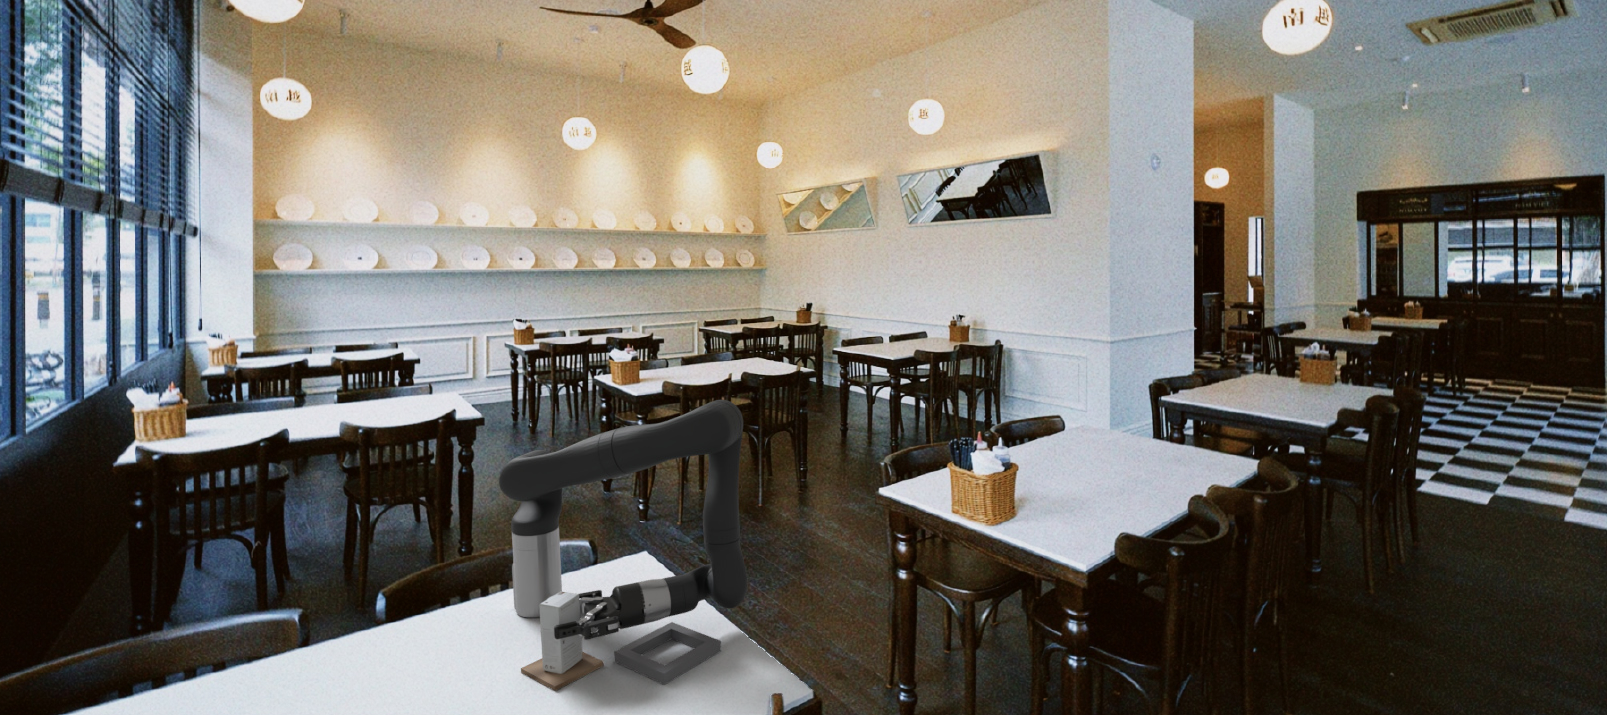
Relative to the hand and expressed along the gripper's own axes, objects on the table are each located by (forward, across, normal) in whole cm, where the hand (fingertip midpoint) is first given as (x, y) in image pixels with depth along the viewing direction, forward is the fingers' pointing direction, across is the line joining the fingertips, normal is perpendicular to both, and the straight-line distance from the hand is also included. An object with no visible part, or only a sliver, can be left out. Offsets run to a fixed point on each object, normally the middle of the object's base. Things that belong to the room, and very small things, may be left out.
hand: (550, 622), depth 129 cm
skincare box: (-2, 0, +8) cm, 9 cm away
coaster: (-2, 0, +9) cm, 9 cm away
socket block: (-20, +5, +9) cm, 22 cm away
